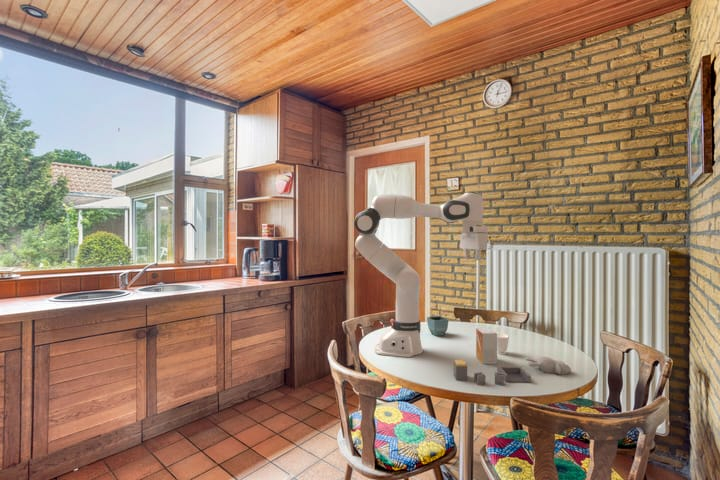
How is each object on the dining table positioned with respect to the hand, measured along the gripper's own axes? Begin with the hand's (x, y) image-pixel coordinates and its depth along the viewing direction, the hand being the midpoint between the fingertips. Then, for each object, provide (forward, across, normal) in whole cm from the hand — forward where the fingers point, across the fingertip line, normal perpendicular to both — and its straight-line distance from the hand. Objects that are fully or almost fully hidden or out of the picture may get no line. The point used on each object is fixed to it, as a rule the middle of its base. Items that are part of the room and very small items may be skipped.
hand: (472, 259), depth 153 cm
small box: (+43, +7, +3) cm, 44 cm away
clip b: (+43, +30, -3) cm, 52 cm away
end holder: (+43, +25, +5) cm, 50 cm away
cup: (+43, -2, +13) cm, 45 cm away
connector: (+43, +23, -15) cm, 51 cm away
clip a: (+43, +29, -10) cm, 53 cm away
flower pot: (+43, -34, -4) cm, 55 cm away
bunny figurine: (+43, +21, +22) cm, 53 cm away
